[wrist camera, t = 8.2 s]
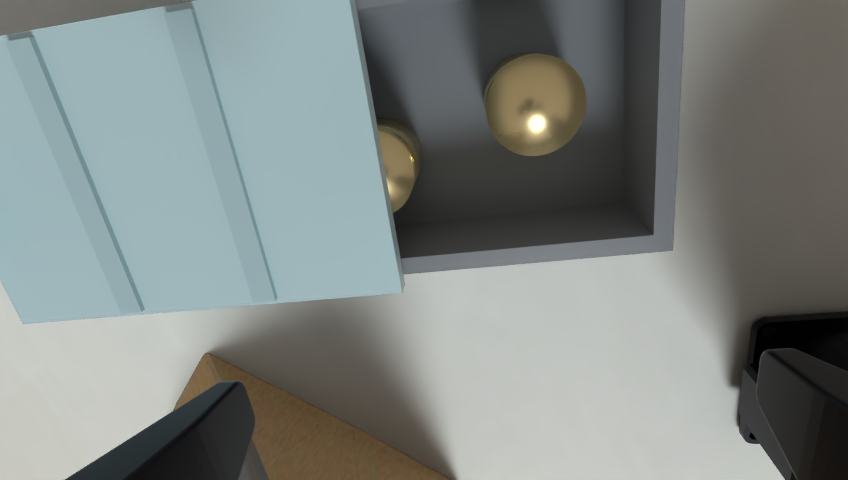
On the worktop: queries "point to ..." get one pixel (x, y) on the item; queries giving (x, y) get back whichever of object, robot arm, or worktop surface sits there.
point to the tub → (518, 174)
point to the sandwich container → (303, 436)
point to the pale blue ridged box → (192, 162)
